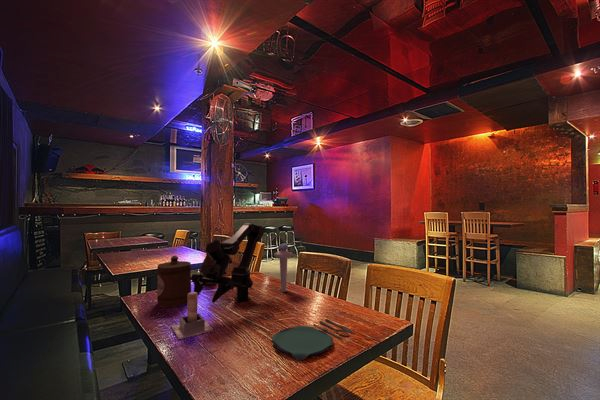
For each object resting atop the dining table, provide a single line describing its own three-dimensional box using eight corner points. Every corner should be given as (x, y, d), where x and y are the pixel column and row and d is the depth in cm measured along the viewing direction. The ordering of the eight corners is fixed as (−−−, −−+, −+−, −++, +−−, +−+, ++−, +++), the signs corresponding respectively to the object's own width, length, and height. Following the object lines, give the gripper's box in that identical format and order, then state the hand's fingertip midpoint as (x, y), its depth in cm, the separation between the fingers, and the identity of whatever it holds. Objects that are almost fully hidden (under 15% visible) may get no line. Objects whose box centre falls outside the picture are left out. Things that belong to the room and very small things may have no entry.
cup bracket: (171, 327, 109) (171, 317, 109) (203, 320, 116) (203, 310, 116) (178, 340, 99) (178, 328, 99) (213, 331, 106) (213, 320, 106)
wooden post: (188, 325, 109) (189, 292, 109) (198, 324, 110) (198, 292, 110) (185, 329, 106) (186, 295, 106) (195, 329, 106) (196, 295, 106)
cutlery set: (261, 342, 98) (261, 335, 98) (324, 320, 117) (324, 314, 117) (298, 369, 82) (298, 361, 82) (363, 339, 102) (363, 332, 102)
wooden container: (160, 298, 142) (160, 254, 142) (192, 295, 146) (192, 252, 146) (154, 309, 128) (154, 259, 128) (189, 306, 132) (189, 258, 132)
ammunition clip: (231, 278, 179) (231, 259, 179) (233, 277, 180) (233, 258, 181) (241, 281, 172) (241, 261, 172) (243, 281, 173) (243, 261, 173)
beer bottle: (219, 283, 169) (219, 242, 169) (211, 286, 161) (211, 244, 162) (208, 281, 171) (208, 241, 171) (199, 285, 164) (199, 243, 164)
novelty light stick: (287, 295, 146) (287, 246, 146) (270, 292, 151) (270, 245, 151) (296, 289, 155) (296, 243, 155) (280, 287, 160) (280, 242, 160)
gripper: (193, 254, 122) (173, 288, 111) (230, 257, 115) (213, 293, 105) (205, 268, 129) (188, 301, 119) (241, 272, 123) (226, 307, 112)
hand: (203, 300), depth 113 cm, fingers open, 9 cm apart
